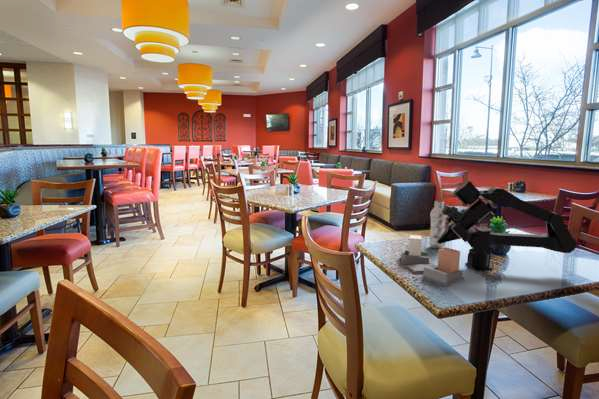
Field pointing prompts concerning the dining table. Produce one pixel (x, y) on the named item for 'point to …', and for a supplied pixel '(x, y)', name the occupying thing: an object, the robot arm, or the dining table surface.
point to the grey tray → (429, 269)
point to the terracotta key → (448, 260)
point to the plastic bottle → (437, 225)
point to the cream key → (415, 245)
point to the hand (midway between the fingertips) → (437, 242)
